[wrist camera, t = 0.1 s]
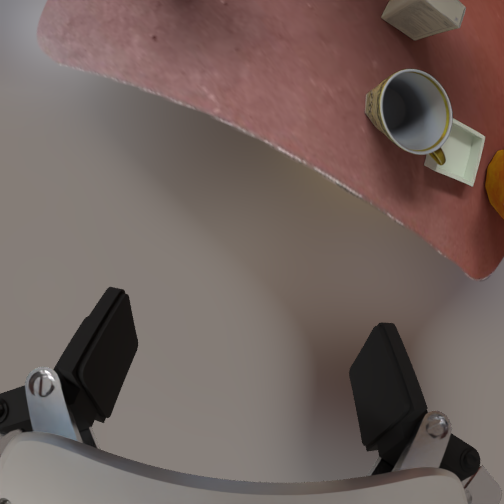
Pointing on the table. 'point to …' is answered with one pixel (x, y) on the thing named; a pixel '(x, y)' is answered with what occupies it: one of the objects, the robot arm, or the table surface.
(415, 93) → the ceramic cup
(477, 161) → the holder
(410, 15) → the skincare box
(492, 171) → the bucket of meat
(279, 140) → the table surface
